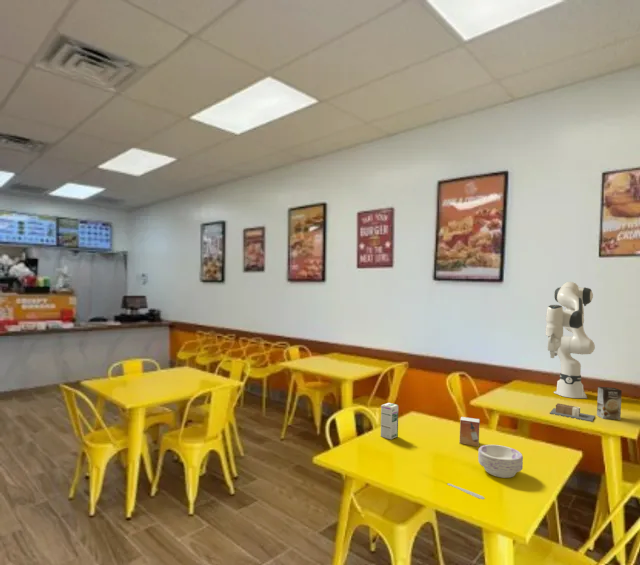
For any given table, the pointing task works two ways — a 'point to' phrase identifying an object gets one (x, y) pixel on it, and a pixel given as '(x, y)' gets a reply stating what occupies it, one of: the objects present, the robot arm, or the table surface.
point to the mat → (581, 416)
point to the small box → (469, 431)
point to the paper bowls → (500, 460)
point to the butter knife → (468, 492)
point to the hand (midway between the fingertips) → (553, 356)
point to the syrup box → (389, 420)
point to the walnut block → (568, 409)
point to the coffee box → (609, 403)
